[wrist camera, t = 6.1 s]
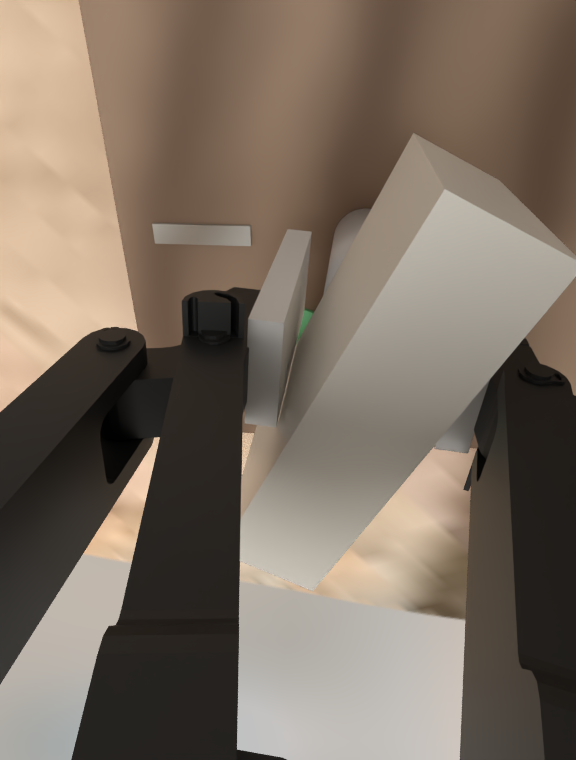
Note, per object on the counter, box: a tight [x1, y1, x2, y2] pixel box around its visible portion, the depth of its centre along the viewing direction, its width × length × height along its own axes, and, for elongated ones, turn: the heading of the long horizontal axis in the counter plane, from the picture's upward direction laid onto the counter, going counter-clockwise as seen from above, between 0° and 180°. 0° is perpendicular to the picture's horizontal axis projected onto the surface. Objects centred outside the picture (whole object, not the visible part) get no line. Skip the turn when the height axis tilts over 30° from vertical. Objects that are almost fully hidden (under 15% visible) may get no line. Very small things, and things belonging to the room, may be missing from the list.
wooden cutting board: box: [79, 0, 576, 448], centre depth 22 cm, size 20×20×2 cm
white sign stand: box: [240, 133, 576, 591], centre depth 16 cm, size 14×2×12 cm, turn 155°
